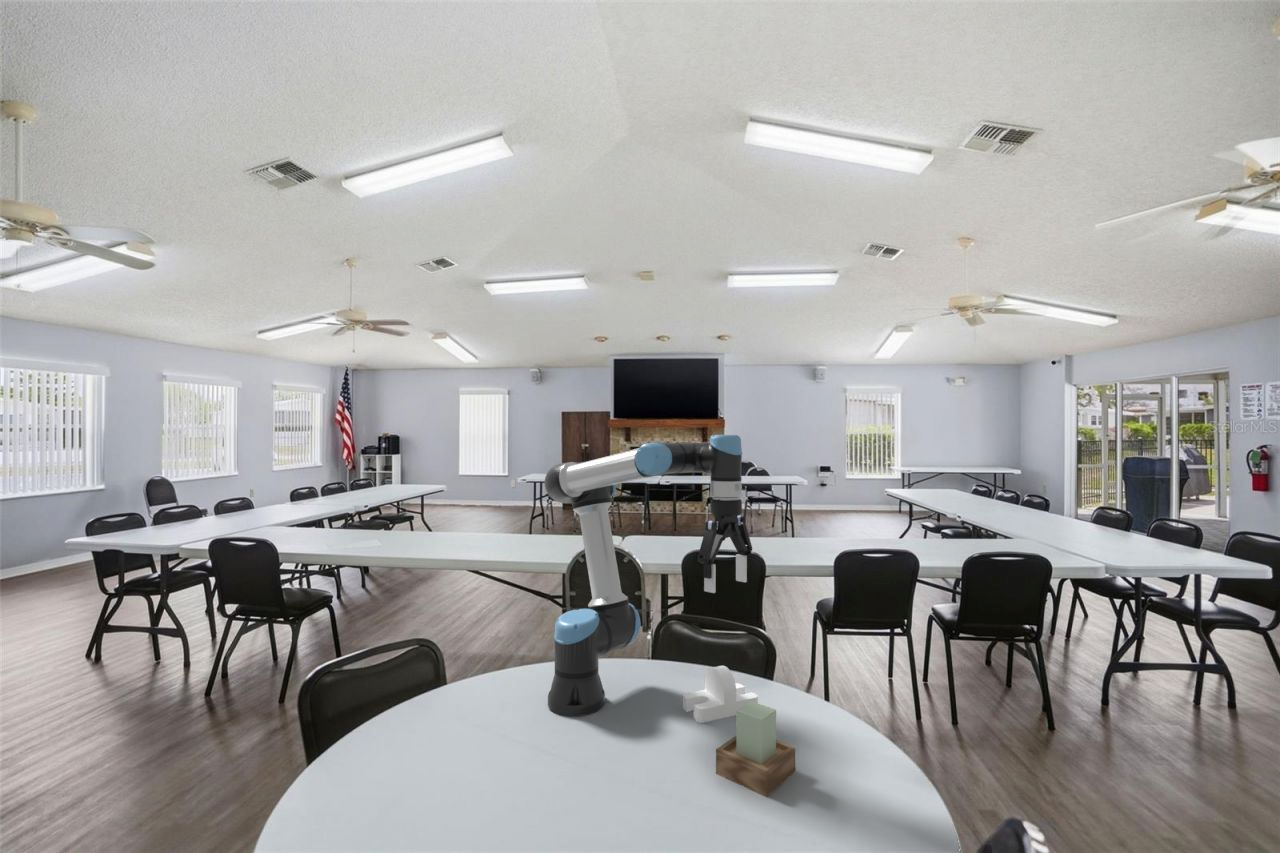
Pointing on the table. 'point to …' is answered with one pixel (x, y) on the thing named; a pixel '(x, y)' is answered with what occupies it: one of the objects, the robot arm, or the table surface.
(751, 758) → the green block
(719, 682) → the white slotted block
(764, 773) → the brown crate
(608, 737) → the table surface
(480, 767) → the table surface
